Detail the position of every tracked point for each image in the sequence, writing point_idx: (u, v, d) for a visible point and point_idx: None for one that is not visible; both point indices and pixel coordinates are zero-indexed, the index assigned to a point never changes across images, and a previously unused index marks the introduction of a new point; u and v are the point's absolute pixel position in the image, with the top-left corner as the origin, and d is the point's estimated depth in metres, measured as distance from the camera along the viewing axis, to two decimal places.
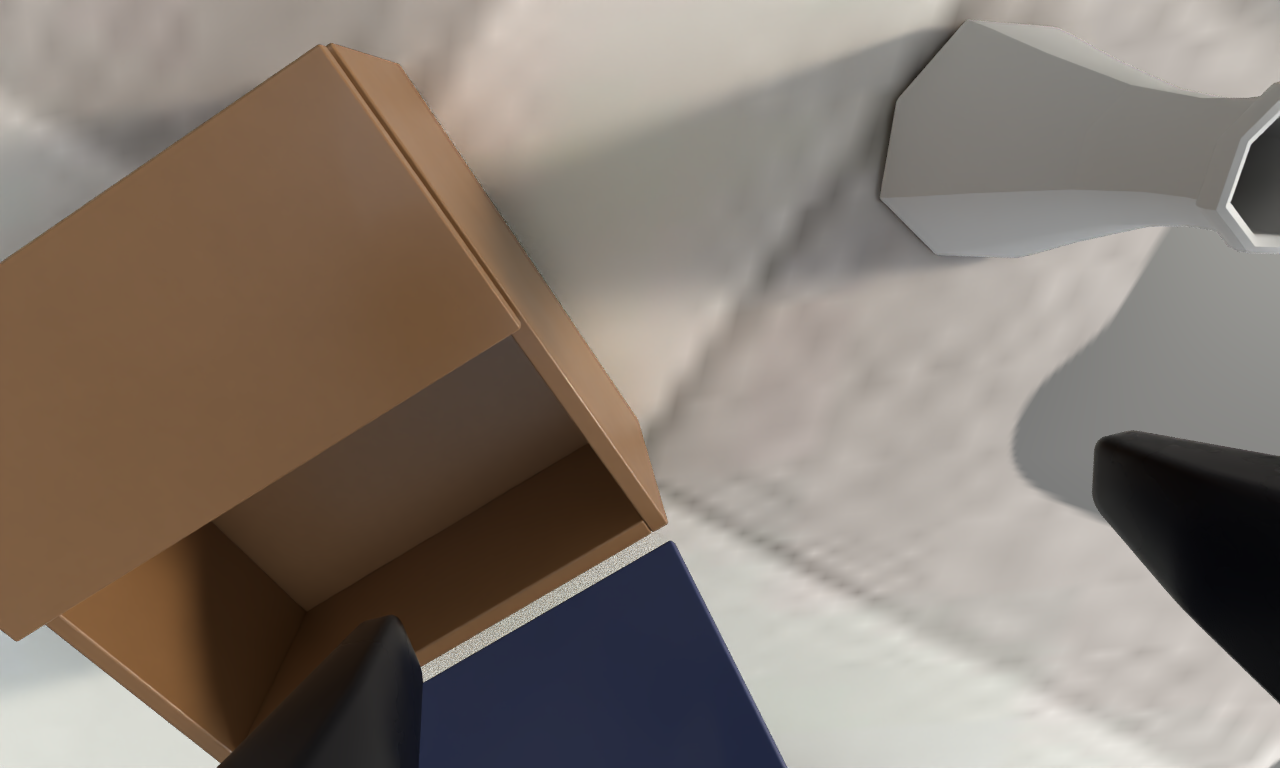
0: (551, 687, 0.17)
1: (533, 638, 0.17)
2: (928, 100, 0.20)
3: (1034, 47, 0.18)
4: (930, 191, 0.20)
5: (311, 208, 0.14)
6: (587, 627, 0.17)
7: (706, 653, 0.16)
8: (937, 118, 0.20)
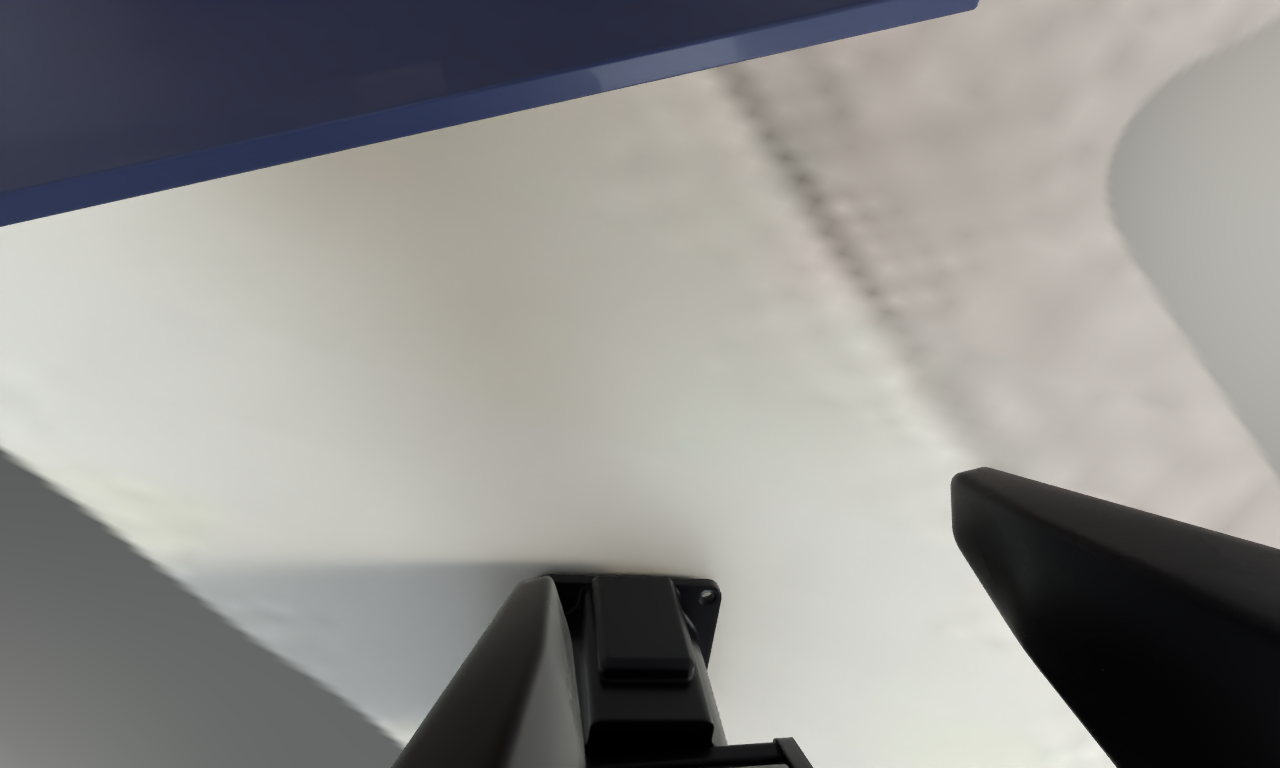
0: None
1: None
2: None
3: None
4: None
5: None
6: None
7: None
8: None
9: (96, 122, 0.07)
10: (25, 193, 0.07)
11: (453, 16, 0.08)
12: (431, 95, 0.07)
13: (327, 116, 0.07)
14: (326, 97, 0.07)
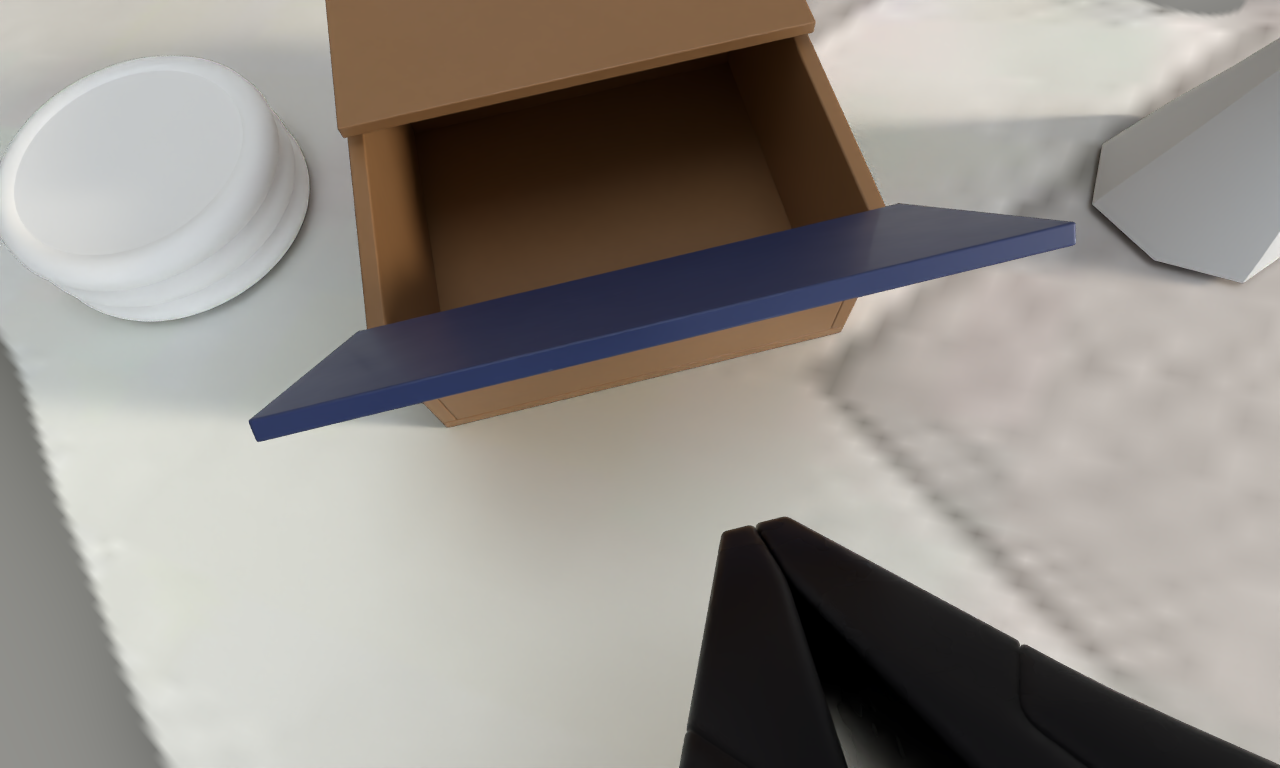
0: (756, 248, 0.16)
1: (743, 242, 0.17)
2: (1131, 127, 0.25)
3: (1220, 73, 0.24)
4: (1142, 167, 0.24)
5: None
6: (804, 231, 0.17)
7: (939, 213, 0.15)
8: (1141, 128, 0.25)
9: (513, 345, 0.12)
10: (470, 371, 0.11)
11: (728, 288, 0.13)
12: (724, 305, 0.11)
13: (658, 321, 0.11)
14: (656, 317, 0.12)
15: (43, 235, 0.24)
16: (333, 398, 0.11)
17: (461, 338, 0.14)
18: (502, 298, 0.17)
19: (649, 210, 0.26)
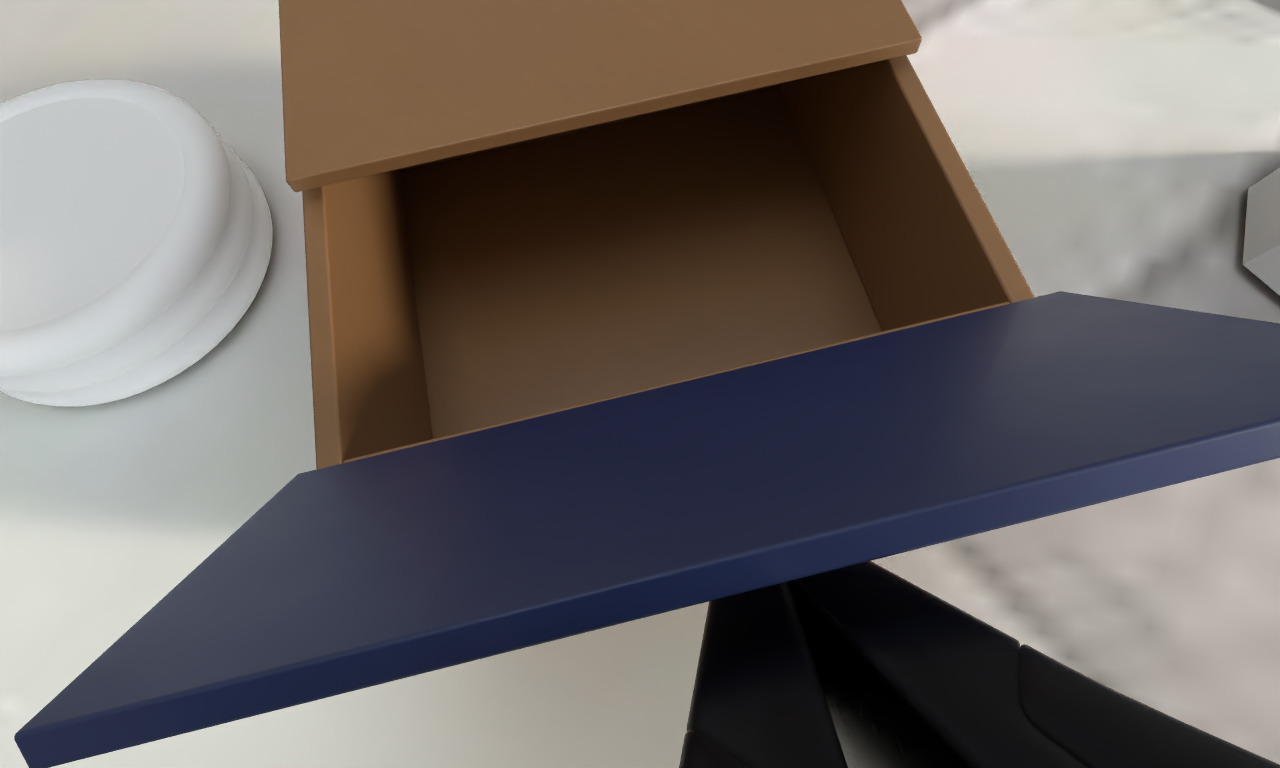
0: (875, 363, 0.11)
1: (845, 349, 0.12)
2: None
3: None
4: None
5: None
6: (935, 333, 0.12)
7: (1161, 316, 0.10)
8: None
9: (511, 568, 0.07)
10: (429, 637, 0.06)
11: (875, 458, 0.07)
12: (892, 512, 0.06)
13: (773, 541, 0.06)
14: (764, 526, 0.07)
15: None
16: (175, 688, 0.06)
17: (430, 525, 0.08)
18: (503, 428, 0.12)
19: (688, 270, 0.21)
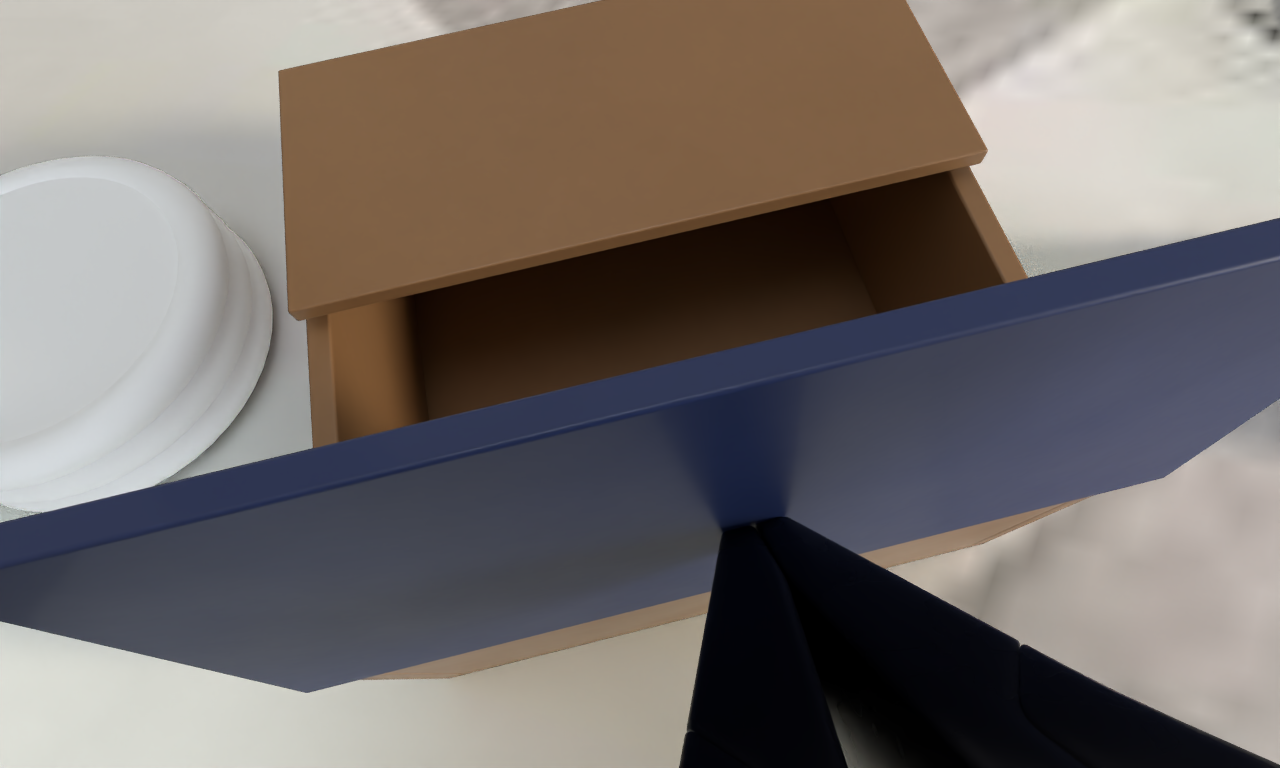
0: None
1: None
2: None
3: None
4: None
5: (821, 24, 0.15)
6: None
7: None
8: None
9: None
10: (358, 446, 0.06)
11: None
12: (869, 319, 0.06)
13: (740, 354, 0.06)
14: None
15: None
16: (83, 507, 0.06)
17: None
18: None
19: None
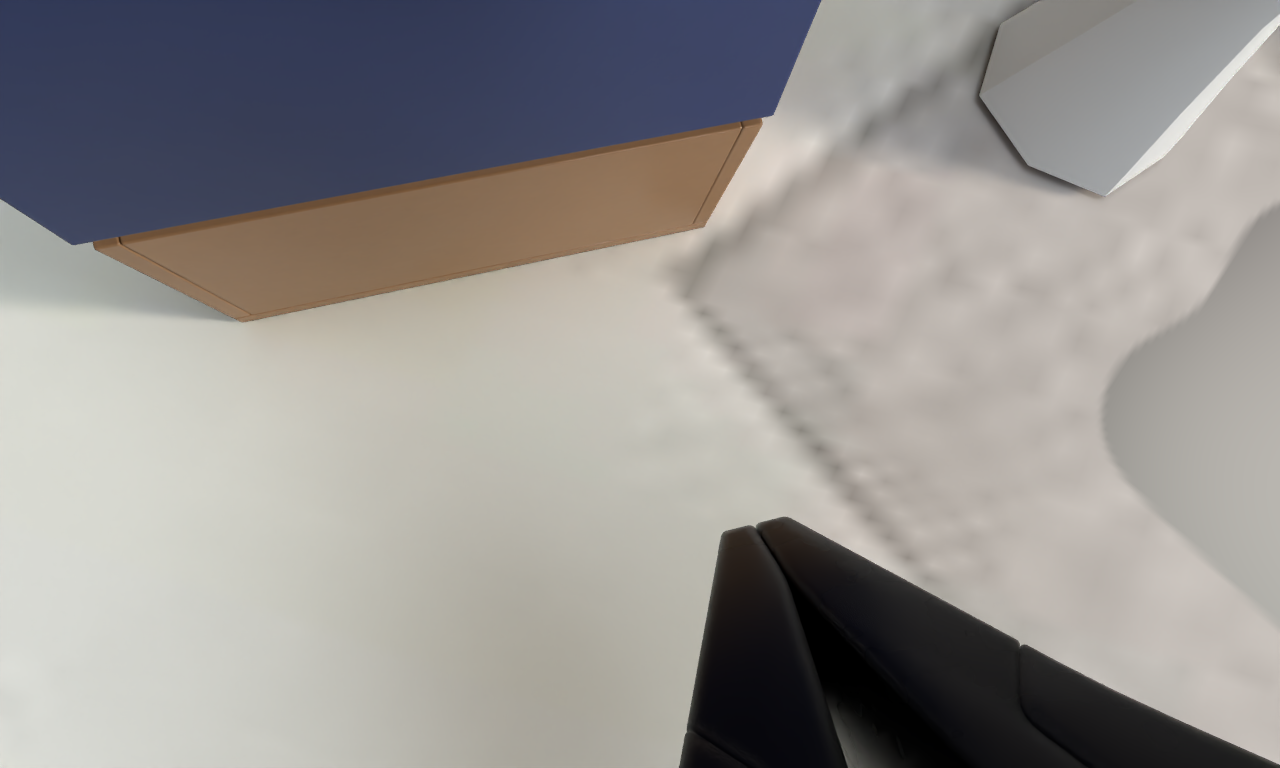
0: None
1: None
2: None
3: None
4: (1034, 61, 0.22)
5: None
6: None
7: None
8: (1042, 12, 0.22)
9: None
10: None
11: None
12: None
13: None
14: None
15: None
16: None
17: None
18: None
19: None
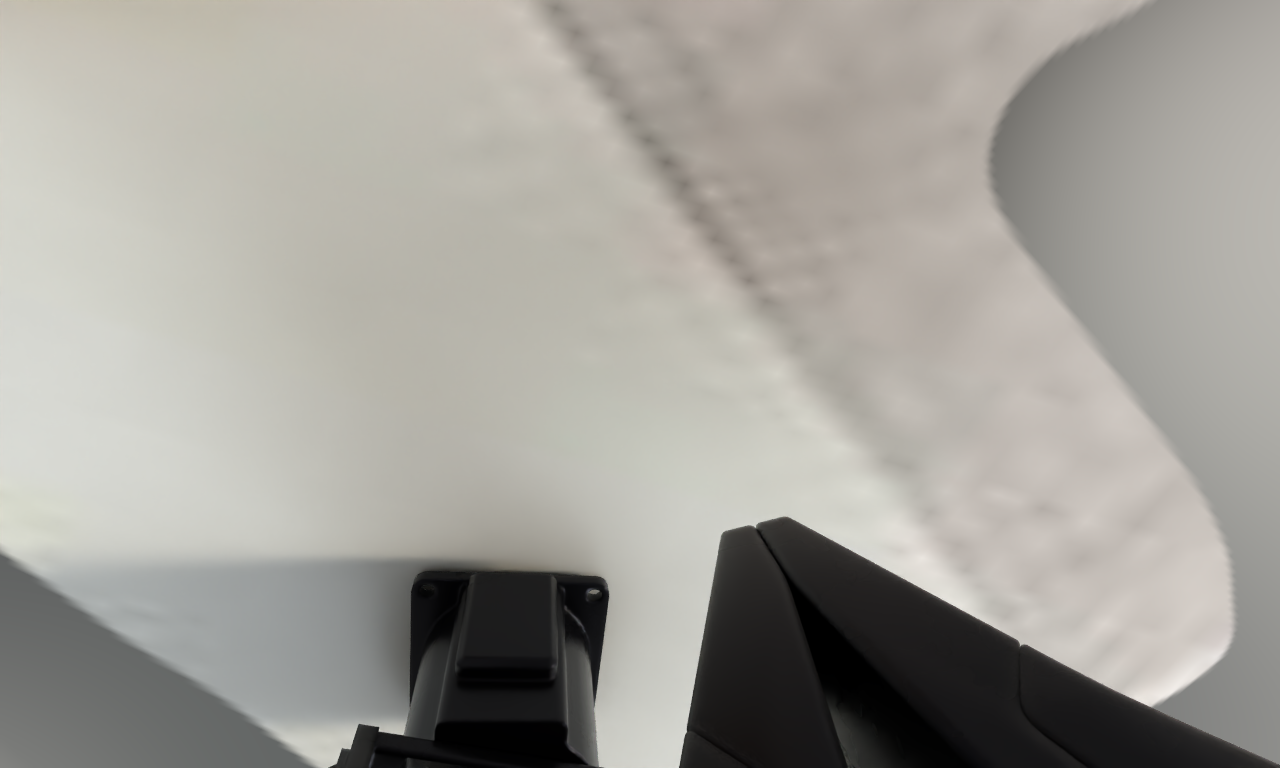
0: None
1: None
2: None
3: None
4: None
5: None
6: None
7: None
8: None
9: None
10: None
11: None
12: None
13: None
14: None
15: None
16: None
17: None
18: None
19: None
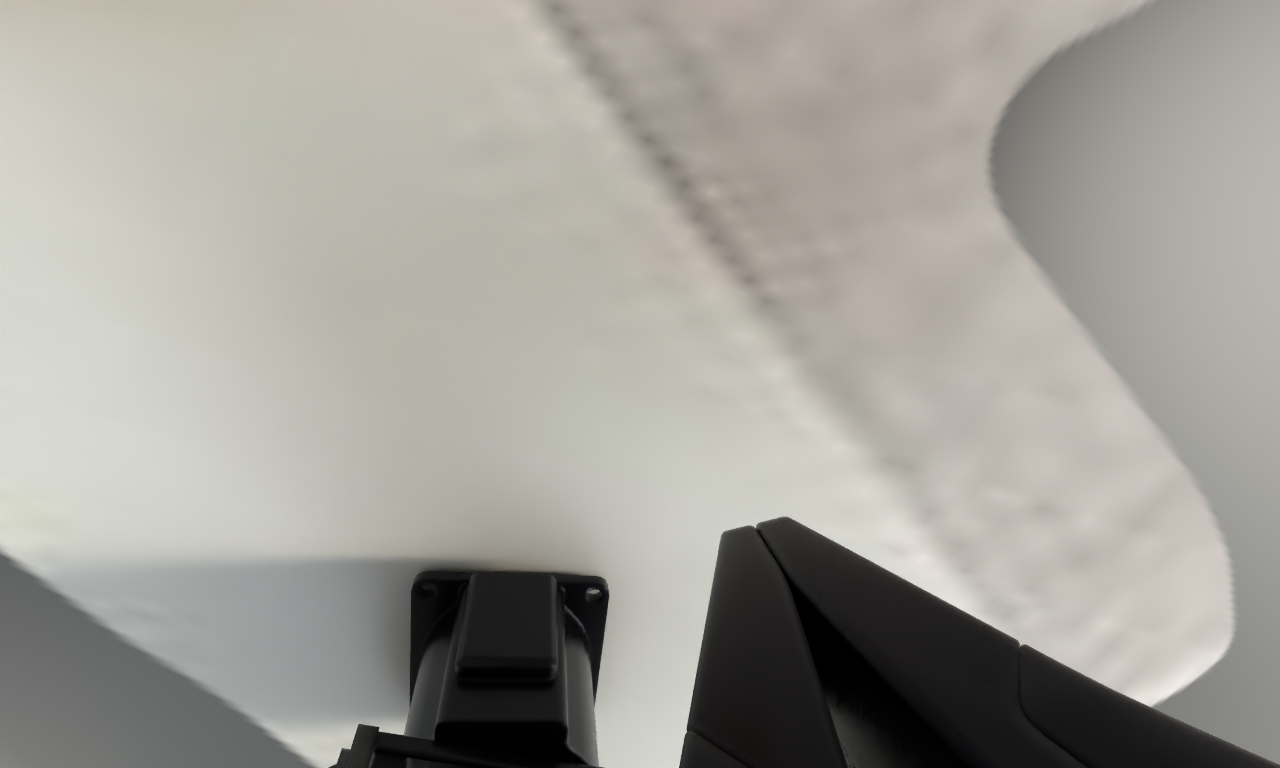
0: None
1: None
2: None
3: None
4: None
5: None
6: None
7: None
8: None
9: None
10: None
11: None
12: None
13: None
14: None
15: None
16: None
17: None
18: None
19: None
